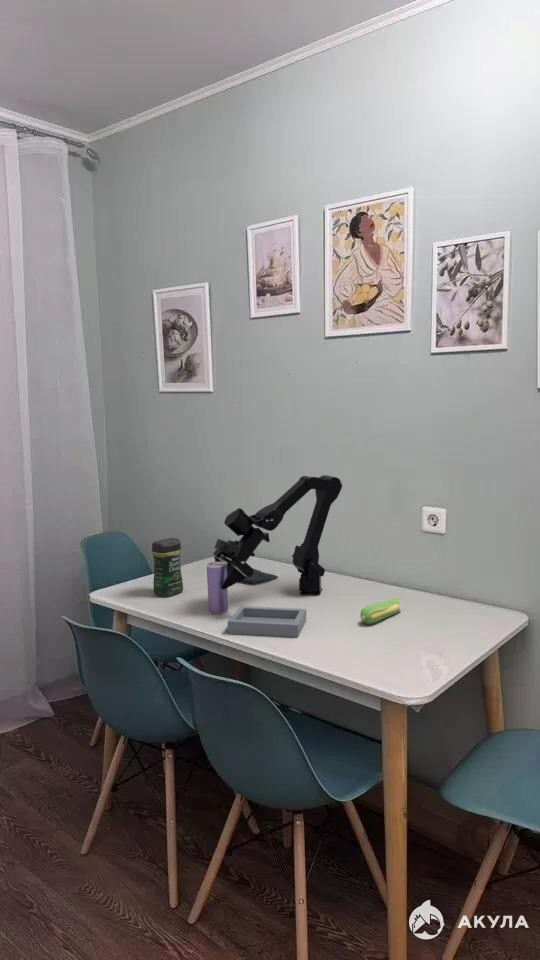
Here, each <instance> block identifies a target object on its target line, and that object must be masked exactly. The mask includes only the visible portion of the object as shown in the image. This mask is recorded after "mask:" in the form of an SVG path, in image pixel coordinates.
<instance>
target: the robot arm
mask: <svg viewBox="0 0 540 960" xmlns="http://www.w3.org/2000/svg"><path fill="white" fill-rule="evenodd" d="M342 489H343V483H342V480H341V479H340V478H338V477H336V476H331V475H327V474H323V475H321V476H319V477H318V476H309V475H302V476H301V477H300V478H299V479H298V480H297V481H296V482H295V483H294V484H293V485H292V486H291V487H290V488H289V489H288V490H286V491H285V493H283V494H282V495H281V496H279V498H278V499H276V500H275V501H274V502H272V503H271V504H268V505H266V506H263V508H261V509H259V510H258V511H257V512H256V513H255V514H252V515H248V514H246V512H245V511H244V510H243V509H242V508H240V507H238V508H237V509H235V510H234V511H232V512H230V513H229V514H227V516H226V517H225V519H224V523H223V524H224V525H225V527H227V528H228V529H230V530H231V532H233V533H234V534H235V535H236V536H238V537H240V536H241V537H240V538H239V540H234V541H233V540H231V539H229V540H227V541H226V540H224V539H221V538H217V540H216V542H215V546H214V549H215V551H214V552H213V553H212V555H213V560H214V562H224V563H226V565H227V566H228V567H227V566H226V567H227V571H228V570H229V569H230V573H229V575H228V576H227V578H226V580H225V581H224V583H223V584H222V586H221V588H222V589H223V590H224V589H226V588H227V589H228V588H230V587H232V586H233V585H235V584H238V583H241V582H240V581H242V580H244V579H247V577H248V578H250V579H251V577H252V576H253V575H254V569H255V568H253V567H252V566H251V565H250V564H248V562H247V561H248V560H249V559H250V557H254V556H255V555H256V553H254V552H255V551H256V549H257V548H258V546H259V545H260V544H261V543H262V541H264V542H266V543H270V542H271V541H270V533H269V532H267V531H271V532H272V531H274V530H275V529H277V527H278V526H279V525H280V524H281V522H282V521H283V519H284V516H285V514H287V512H289V510H290V509H291V508H292V507H294V505H295V504H297V503H298V502H299V500H300V501H301V499H302V498H303V497H304V496H306V495H307V493H308V492H309V491H311V490H315V498H316V501H315V504H314V507H313V510H312V514H311V518H310V520H309V524H308V527H307V530H306V533H305V536H304V537H305V538H304V541H303V542H302V543H301V545H295V548H294V551H293V554H292V556H291V558H292V564H293V566H294V567H295V568H296V569H297V572H298V573H300V577H299V579H298V586H299V589H298V590H299V595H302V596H303V595H305V596H306V595H307V596H320V595H321V593H322V592H323V587H322V577H324V575H325V572H326V569H325V568H324V567H323V566H322V565H321V564H319V561H320V552H319V544H320V542H321V539H322V536H323V535H322V534H323V531H324V528H325V525H326V521H327V518H328V516H329V512H330V508H331V507H332V504H334V502H335V501H336V500H337V499H338V497H339V495H340V493H341V491H342ZM262 529H263V530H265V531H266V532H265V531H263V530H262ZM232 565H233V566H235V567H233V566H232ZM229 567H230V568H229ZM246 576H247V577H246Z"/></svg>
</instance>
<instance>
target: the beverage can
mask: <svg viewBox="0 0 540 960" xmlns="http://www.w3.org/2000/svg"><path fill="white" fill-rule="evenodd" d="M226 578H227V567H226V563H224V562H215V561H211V562H208V563H207V566H206V579H207V597H208V599H207V600H208V601H207V602H208V603H207V605H208V611H209V613H210V614H212V615H224V614H226V613H227V612H228V611H229V598H228V597H229V595H228V594H229V593H228V591H229V590H228V588H226V589H224V590H223V589H222V588H221V586H222V584H223V583H224V581H225V580H226ZM223 613H224V614H223Z"/></svg>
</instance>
